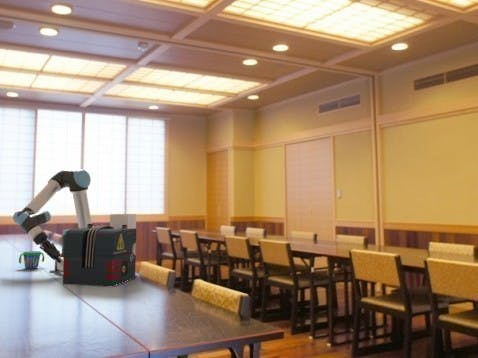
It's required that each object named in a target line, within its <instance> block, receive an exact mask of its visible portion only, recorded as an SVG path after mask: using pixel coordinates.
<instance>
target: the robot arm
mask: <svg viewBox="0 0 478 358" xmlns="http://www.w3.org/2000/svg"><path fill="white" fill-rule="evenodd" d="M91 182H92V181H91V175H90V173H89V172H88V171H87V170H85V169H80V168H78V169H74V168H73V169H63V170H61V171H58V172H57V173H55V174H54V175H53V176H52V177H51V178H49V180H48V181H47V184H46V185H45V186H44V187H43V188H42V189H41V190H40V191H39V192H38V193H37V194H36V195H35V196H34V197H33V198H32V199H31V200H30V201H29V203H28V204H27V205H26V206H25V207H24V208H23V209H22V210H19V211H16V212H14V214H13V218H12V219H13V221H14V223H15V224H18V226H19V227H20V228H21V229H22V230H23V231H24V232H25V234H27V236H28V237H29V238H30V239H31V240H32V242H34V243H35V245H36V246H38V245H39V249H40V250H42V251H43V253H46V255H47V256H49V258H51V259H52V260H53V261H55V259H56V261H57V262H58V263H59V264H60V266H61V267H62V268H63V261H64V260H63V259H62V258H64V238H65V234H66V232H67V231H68V230H69V229H64V230H63V231H62V236H61V241H62V242H61V252H60V253H59V251H60V250H58V248H57V247H56V246H55V243H54V242H50V241H49V239H48V237H49V236H48V234H46V232H45V231H44V230H43V228H41V227H40V226H41V225H44V224H47V223H48V222H50V221H51V218H52V217H51V213H50V212H49V210H46V209H43V210H42V208H43V207H44V206H45V205H46V204H47V203H48V202H49V201H50V200H51V199H52V198H53V197H54V196H55V194H56V193H58V192H60V191H61V190H62V189H64V188H69V192H70V193H71V194H72V197H73V201H74V202H73V203H74V208H75V214H76V219H77V220H76V221H77V226H78V227H77V228H87V225H88V224H92V225H93V223H92V219H91V218H92V217H91V212H90V207H89V200H88V199H89V198H88V193H87V191H88V189H89V186H90V185H91ZM93 227H95V226H94V225H93ZM61 257H62V258H61Z"/></svg>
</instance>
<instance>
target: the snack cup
mask: <svg viewBox="0 0 478 358" xmlns="http://www.w3.org/2000/svg"><path fill="white" fill-rule="evenodd" d="M19 255H20V256H19V258H18V262H19V264H22V257H23V262H24V263H23V264H24V268H25V269H27V270H28V269H30V270H31V269H37V268H39V264H40V259H41V258H42V259H41V262H45V254H44V252H42V251H39V250H33V251H32V250H29V251H26V250H25V251H22V253H20V254H19ZM41 255H42V257H41Z"/></svg>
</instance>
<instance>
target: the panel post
mask: <svg viewBox="0 0 478 358" xmlns="http://www.w3.org/2000/svg"><path fill="white" fill-rule="evenodd" d="M58 251H59V253H60V254H61V252H60V250H58ZM49 273H50V274H60V273H63V271H62V270H59V269H57V261H56V259H55V260H54V269H50V270H49Z"/></svg>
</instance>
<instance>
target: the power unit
mask: <svg viewBox="0 0 478 358" xmlns="http://www.w3.org/2000/svg"><path fill="white" fill-rule="evenodd" d="M93 226H94V225H93V223H92V224H88V225H87V228H79V227H77V228H70V229H67V230H68V231H67V232H66V234H65V238H64V261H63V272H62V285H72V286H87V285H88V287H89V286H90V287H91V286H92V287H106V286H113V287H115V286H114V285H116V284H119V283H121V284H123V283H122V282H124V283H126V282H125V281H127V280H130V279H132V278H135V279H136V259H137V256H136V254H135V255H134V254H133V253H132V247H133V245H134V244H135V245H136V243H137V227H136V228H131V229H128V228H127V225H122V228H114V227H112V226H110V225H96V226H94V227H93ZM132 280H133V279H132ZM130 281H131V280H130ZM127 282H128V281H127ZM119 285H120V284H119ZM116 286H117V285H116Z"/></svg>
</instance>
